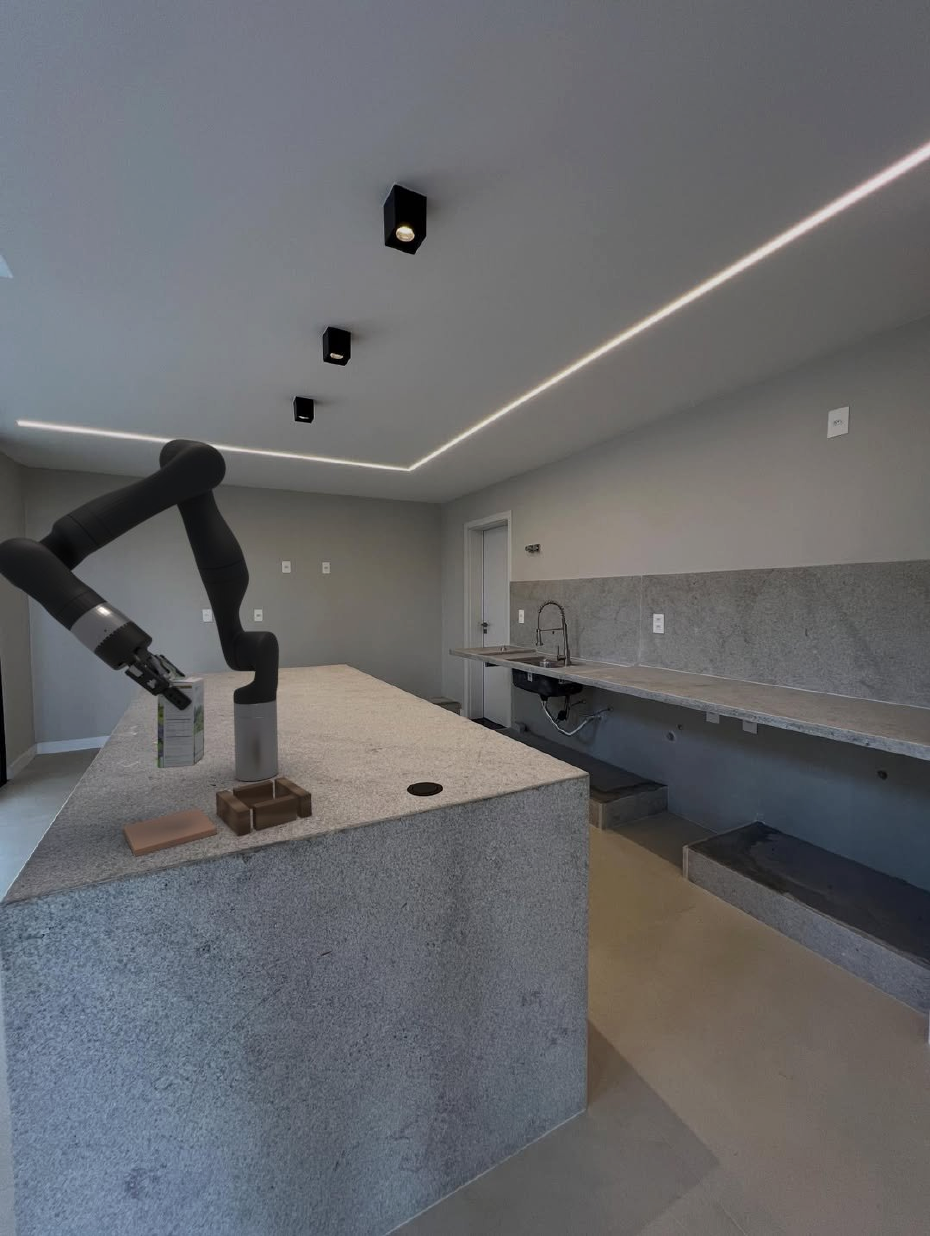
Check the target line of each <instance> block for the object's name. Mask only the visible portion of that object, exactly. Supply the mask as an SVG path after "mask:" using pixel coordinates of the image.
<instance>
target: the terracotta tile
mask: <svg viewBox="0 0 930 1236" xmlns="http://www.w3.org/2000/svg"><path fill="white" fill-rule="evenodd" d="M122 832H123V835H124V837H125V840H126V842H127V844H128V845H129V847H130V850H131V851H132V853H133V856H134V857H138V856H142V855H146V854H149V853H153V852H157V851H161V850H165V849H167V848H171V847H174V846H178V845H183V844H186V843H189V842H193V841H195V840H197V841H198V840H200V839H202V838H203V839H204V838H207V837H210V836H215V835H217V834H218V828H217V826H216V825H215V824H214V823H213V822H212V821H211V820H210V819H209V817H207V816H206V814H205V813H204V812H203V811H202V810H201V809H200V808H199V807H197V808H192V809H189V810H185V811H181V812H176V813H173V814H172V813H171V814H169V815H168V814H167V815H164V816H159V817H156V818H151V819H148V820H144V821H140V822H139V821H138V822H135V823H131V824H127V825H123V826H122Z"/></svg>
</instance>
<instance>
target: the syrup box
mask: <svg viewBox="0 0 930 1236" xmlns="http://www.w3.org/2000/svg"><path fill="white" fill-rule="evenodd" d="M169 680H170V681H171V682H172V683H173V684H174V687H175V686H176V687H177V688H178V689H179V690H180V691H182V692H183V693H184V694H185V695H186V696H187V697H189V698H190V699H191V700H192V703H191V704H190V705H189V706H188V707H187V708H186V709H184V710H182V711H181V710H179V709H178V708H177V707H176V706H174V705H173V704H172V703H171V702H170V701H168V700H167V699H166V698H165V696H164V697H161V696H159V695H157V768H159V769H168V768H169V769H170V768H171V769H172V768H183V767H194V766H195V765H196V764H197V763H198V762H200V761H201V760H202V759H203V758H204V757H205V679H204V678H203V677H194V676H186V677H179V678H175V677H171V679H169ZM174 687H173V688H174Z"/></svg>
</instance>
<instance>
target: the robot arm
mask: <svg viewBox="0 0 930 1236" xmlns="http://www.w3.org/2000/svg"><path fill="white" fill-rule="evenodd" d="M158 462H159V468H160V469H158V470H157V471H155V472H153V473H151V474H150V475H149V476H146V477H144V478H143V479H141V480H139V481H138V480H137V482H133V483H131V484H130V485H126V486H124V487H121V488H118V489H115V490H113V491H110V492H107V493H105V494H102V495H100V496H98V497H95V498H94V499H92V500H89V501H88V502H86V503H84V504H82V505H81V506H79V507H77V508H75V509H73V510H71V511H70V512H68V513H67V514H65V515H63V516H61V517H60V518H58V519H57V520H56V521H55V522H54V523H53V525H52V527H51V531H50V533H49V534H47V535H46V536H44V537H43V538H42V539H40V540H39V541H37V540H35V539H32V538H26V537H12V538H9V539H6V540H3V541H2V542H1V543H0V575H1V576H2V577H3V578H5V579H6V580H7V581H8V582H9V583H10V585H13V586H14V587H15V588H18V590H19V589H20V590H22V591H23V592H24V593H25V594H27V595H28V596H29V597H31V598H32V599H33V600H35V601H36V602H37V603H38V604H40V605H41V606H42V607H43V609H45V611H46V612H47V613H48V614H49V615H50V616H51V617H52V618H53V619H54V620H56V621H57V623H59V624H60V625H61V626H63V627H64V628H65V629H66V630H67V631H69V632H70V633H71V634H72V635H73V636H74V637H75V638H76V639H77V641H79V642H80V643H81V645H82V646H84V647H85V648H87V650H89V651H90V652H91V653H93V654H94V655H95V656H96V657H98V658H99V659H100V660H101V661H103V662H104V664H106V665H107V666H109V667H110V668H111V669H112V670H114V671H121V670H122V669H125V668H126V667H128V668H127V669H126V670H125V671H124V675H126V676H127V677H129V678H130V679H131V680H132V681H134V682H135V683H137V684H138V685H139V686H141V688H144V690H146V692H148V693H150V694H151V695H152V696H155V697H158V695H159V696H161V697H164V696H165V698H166V699H167V700H168V701H170V702H171V703H172V704H173V705H174V706H176V707H177V708H178V709H179V710H181V711H182V710H184V709H186V708H187V707H188V706H189V705H190V704H191V703H192V700H191V699H190V698H189V697H187V696H186V695H185V694H184V693H183V692H182V691H180V690H179V689H178V688H177V687H176V686H175V687H174V684H173V683H172V682H171V681H170V680H169V679H171V678H179V677H187V676H186V674H185V673H183V672H182V671H181V670H180V669H178V667H176V666H175V665H174V664H173V663H172V662H171V661H170V660H169V659H167V657H166V656H165V655H163V654H156V653H155V654H153V653H152V652H150V651H149V650H148V647H151V645H152V642H153V637H152V636H151V635H149V634H148V633H147V632H146V631H145V630H144V629H143V628H142V627H141V626H139V625H138V624H136V623H135V622H134V621H133V620H132V619H131V618H129V616H127V615H126V614H125V613H124V612H122V611H121V610H120V609H118V608H117V607H115V606H114V605H113V604H111V603H110V602H108V601H107V600H106V599H105V598H104V597H103V596H101V595H100V594H99V593H98V592H96V590H94V589H93V588H92V587H90V586H89V585H88V584H86V583H85V582H84V581H82V579H80V578H79V577H77V576H76V575H75V574H74V572H72V571H73V570H74V569H75V568H76V567H78V566H79V565H80V564H81V563H82V562H83V561H84V560H85V559H86V558H87V557H88V556H90V555H92V554H93V553H95V552H97V551H98V550H100V549H102V548H103V547H105V546H107V545H108V544H110V543H111V542H114V541H115V540H117V539H118V538H119V537H121V536H122V535H124V534H126V533H127V532H129V531H130V530H132V529H133V528H136V527H137V526H139V525H140V524H142V523H144V522H146V521H147V520H149V519H151V518H153V517H155V516H157V515H158V514H160V513H162V512H164V511H166V510H168V509H170V508H172V507H174V506H177V509H178V511H179V515H180V517H181V519H182V522H183V525H184V526H183V527H184V529H185V532H186V536H187V538H188V541H189V545H190V548H191V551H192V554H193V556H194V561H195V564H196V567H197V570H198V573H199V577H200V580H201V581H202V584H203V587H204V589H205V592H206V594H207V598H208V600H209V604H210V606H211V610H212V613H213V618H214V621H215V624H216V630H217V633H218V634H217V635H218V638H219V642H220V647H221V651H222V656H223V658H224V660H225V663H226V665H227V667H229V669H230V670H232V671H235V672H254V675H253V676H254V677H253V681H251V682H250V683H248V684H247V685H243V686H241V687H237V688H236V689H235V690H234V691H233V697H232V698H233V725H234V727H233V729H234V734H233V735H234V771H235V772H234V773H235V774H234V776H235V780H238V781H241V782H256V781H261V780H262V781H263V780H267V779H271V778H273V777H275V776H277V775H278V773H279V746H278V745H279V742H278V741H279V740H278V739H279V738H278V705H277V704H278V701H277V698H278V697H277V696H278V695H277V693H278V686H279V667H280V666H279V664H280V663H279V659H280V647H279V646H280V645H279V641H278V638H277V636H276V634H274V633H273V632H271V631H269V630H268V631H267V630H266V631H265V630H264V631H263V630H259V631H258V630H257V631H254V630H253V631H251V630H250V631H249V630H248V631H247V630H244V628H243V626H242V623H241V618H240V608H241V605H242V604H243V603H242V602H243V600H244V598H245V595H246V593H247V590H248V586H249V582H250V573H249V570H248V566H247V565H248V564H247V562H246V559H245V556H244V552H243V549H242V547H241V545H240V543H239V541H238V540H237V538H236V536H235V534H234V533H233V531H232V529H231V528H230V526H229V524H228V523H227V522H226V520H225V519H224V517H223V515H222V514H221V513H222V512H221V511H220V509H219V508H218V504H217V502H216V499H215V495H214V492H213V490H214V489H215V488H217V487H218V486H219V485H220V484H221V483H222V482H223V481H224V479H225V476H226V472H227V468H226V467H227V464H226V462H225V459H224V456H223V455H222V454H221V452H220V451H219V450H218V449H217V448H216V447H214V446H213V445H211V444H209V443H206V442H204V441H198V440H191V439H182V438H177V439H172V440H169V441H167V443H165V444H164V445H163V446H162V448H161V450H160V453H159V459H158ZM173 687H174V688H173Z"/></svg>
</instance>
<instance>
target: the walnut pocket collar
mask: <svg viewBox="0 0 930 1236" xmlns="http://www.w3.org/2000/svg"><path fill="white" fill-rule="evenodd" d="M215 802H216V803H215V804H216V807H215V808H216V810H215V811H216V815H217V816H219V817H220V818H221V820H222V821H223V822H224V823H225V824H226V825H227V826H228V827H229V828H230V829H231V830H232V831H233V832H234V834H236V835H237V836H238V837H241V836H243V835H248V834H250V833H252V828H253V829H255V831H256V832H257V831H261V830H265V829H269V828H272V827H275V826H278V825H281V824H285V823H288V822H293V821H295V820H297V816H298V817H299V818H301V819H303V818H307V817H310V816H312V809H313V808H312V793H311V792H310V791H308V790H306V789H304V787H301V786H300V785H298V784H296V782H293V781H291V780H290V779H289V778H287V777H286V776H282V777H278V778H274V779H273V781H271V780H270V779H269V780H264V781H260V782H256V783H251V784H248V785H247V784H246V785H243V786H239V787H234V788H232V792H230V791H229V789H225V790H221V791H216V792H215ZM251 809H252V818H251ZM251 819H252V820H251ZM251 823H252V825H251Z"/></svg>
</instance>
